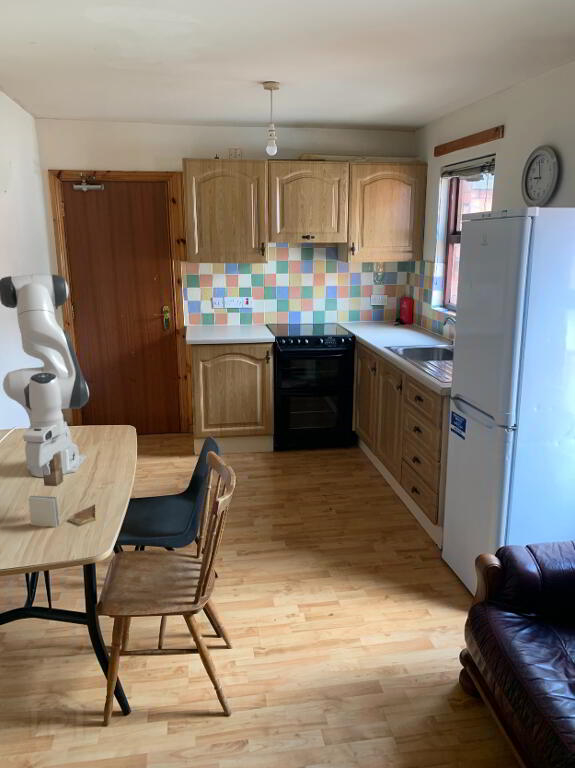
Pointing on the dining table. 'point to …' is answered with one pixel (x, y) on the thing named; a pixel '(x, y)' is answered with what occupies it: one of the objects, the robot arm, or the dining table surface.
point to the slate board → (43, 511)
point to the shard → (84, 516)
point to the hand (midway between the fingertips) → (52, 471)
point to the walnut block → (54, 471)
